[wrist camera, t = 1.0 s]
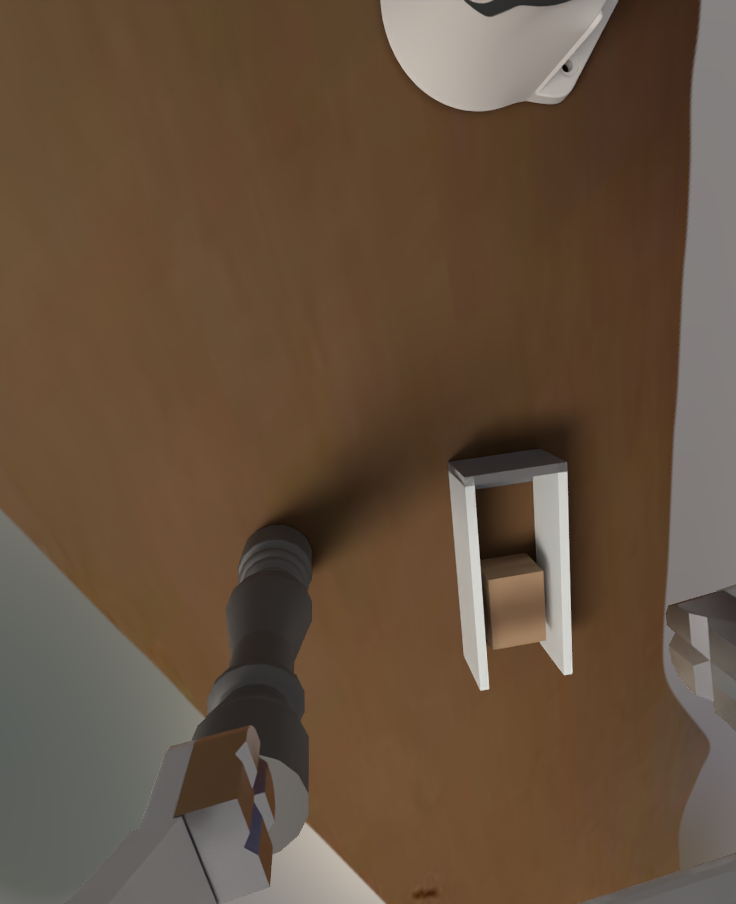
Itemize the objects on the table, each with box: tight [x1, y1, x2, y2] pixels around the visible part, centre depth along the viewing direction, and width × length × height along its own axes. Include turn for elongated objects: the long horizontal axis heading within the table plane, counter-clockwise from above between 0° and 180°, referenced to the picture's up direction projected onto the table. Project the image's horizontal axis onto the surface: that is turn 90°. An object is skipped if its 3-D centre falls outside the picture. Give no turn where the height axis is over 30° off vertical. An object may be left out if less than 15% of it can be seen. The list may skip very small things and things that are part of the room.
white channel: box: [448, 449, 572, 691], centre depth 46 cm, size 20×9×5 cm, turn 7°
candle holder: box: [191, 525, 312, 854], centre depth 33 cm, size 6×6×25 cm
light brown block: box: [480, 553, 546, 650], centre depth 47 cm, size 7×5×4 cm
